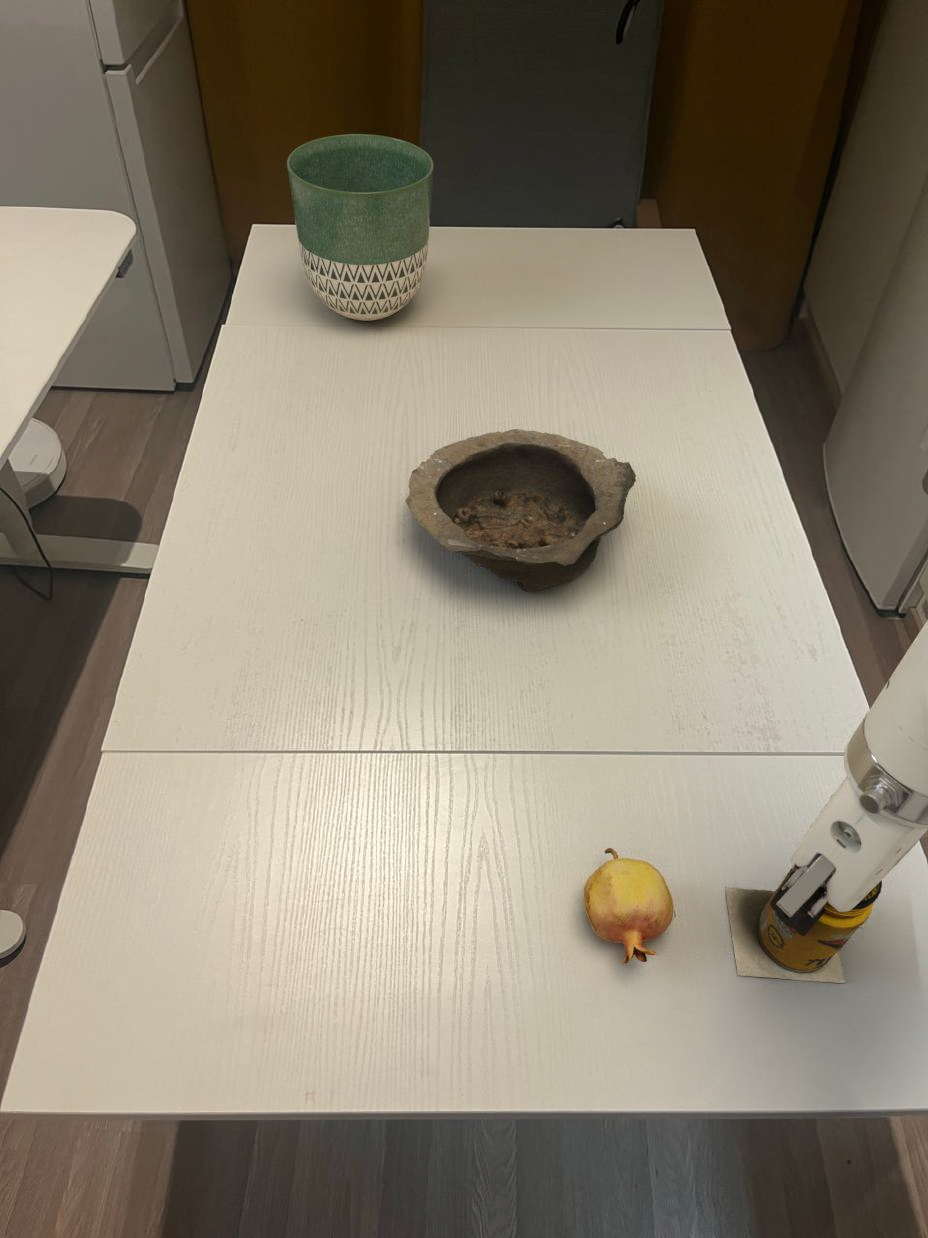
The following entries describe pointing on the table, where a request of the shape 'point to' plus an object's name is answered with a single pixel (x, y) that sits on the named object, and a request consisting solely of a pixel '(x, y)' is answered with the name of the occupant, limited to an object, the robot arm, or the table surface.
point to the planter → (362, 220)
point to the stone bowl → (521, 503)
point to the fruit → (628, 904)
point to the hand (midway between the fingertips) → (816, 891)
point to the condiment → (790, 937)
